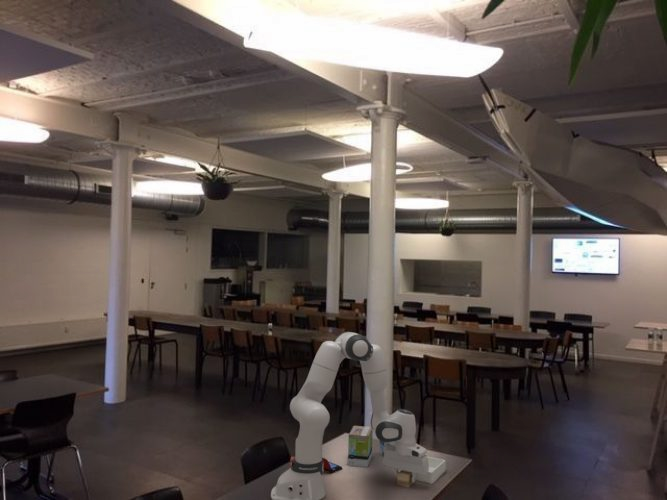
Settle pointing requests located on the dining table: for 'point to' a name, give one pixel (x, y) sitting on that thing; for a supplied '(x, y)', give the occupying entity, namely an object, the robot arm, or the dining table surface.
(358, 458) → the tea box
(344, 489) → the dining table surface
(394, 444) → the light bulb box
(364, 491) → the dining table surface
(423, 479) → the grey tote
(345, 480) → the dining table surface
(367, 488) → the dining table surface
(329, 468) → the handheld game console
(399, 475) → the oak cube
